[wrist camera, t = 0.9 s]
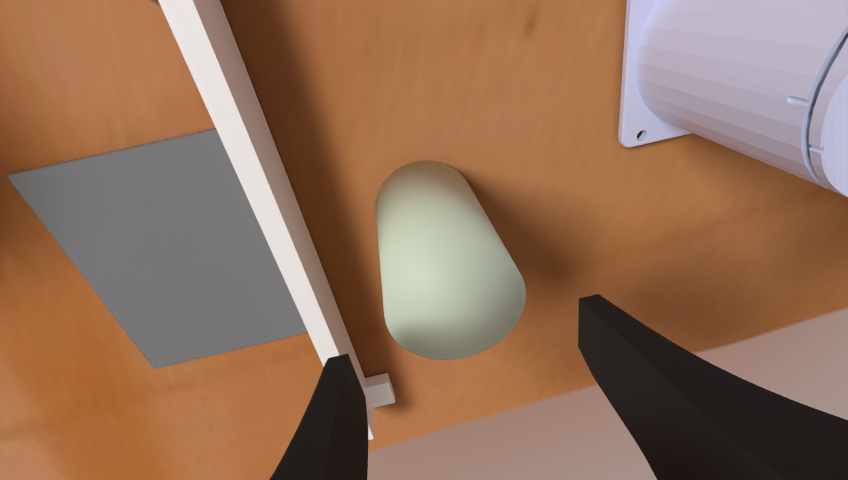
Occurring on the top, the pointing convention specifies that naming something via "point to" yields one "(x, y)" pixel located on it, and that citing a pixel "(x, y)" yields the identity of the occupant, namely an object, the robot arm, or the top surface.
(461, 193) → the green cylinder
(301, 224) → the low wall
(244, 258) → the mat
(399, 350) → the top surface
